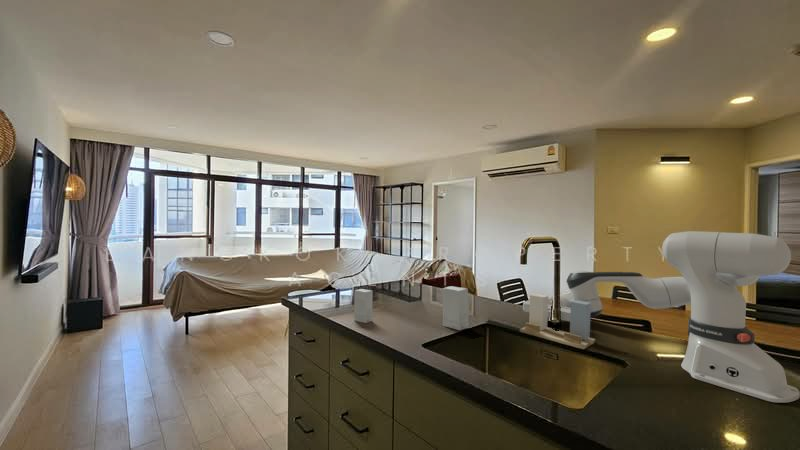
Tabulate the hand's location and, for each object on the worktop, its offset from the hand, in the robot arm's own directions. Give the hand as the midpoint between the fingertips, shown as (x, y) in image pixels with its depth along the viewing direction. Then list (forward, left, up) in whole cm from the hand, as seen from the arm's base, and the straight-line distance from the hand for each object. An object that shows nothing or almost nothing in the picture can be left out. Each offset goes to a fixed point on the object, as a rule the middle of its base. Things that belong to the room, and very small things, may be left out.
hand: (540, 314), depth 130 cm
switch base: (-8, 0, -6) cm, 10 cm away
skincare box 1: (+33, +58, -6) cm, 68 cm away
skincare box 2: (+14, +28, -6) cm, 32 cm away
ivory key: (-1, +2, -5) cm, 5 cm away
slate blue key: (-13, -4, -5) cm, 15 cm away
